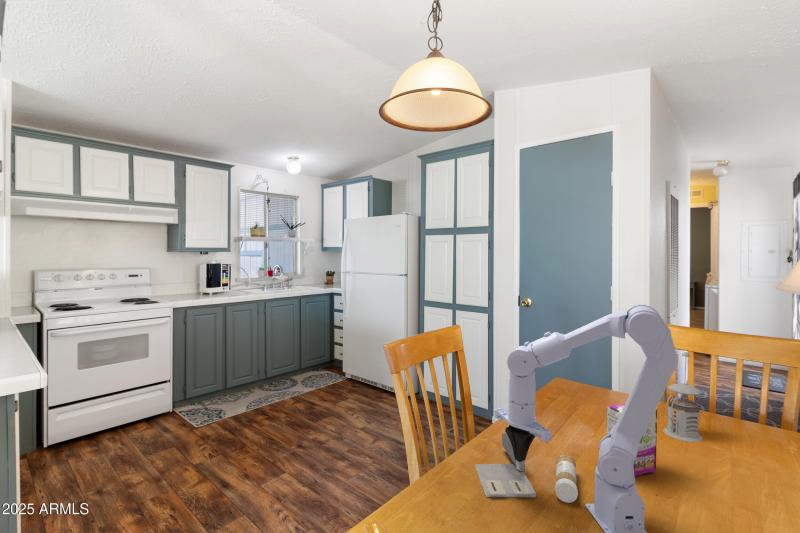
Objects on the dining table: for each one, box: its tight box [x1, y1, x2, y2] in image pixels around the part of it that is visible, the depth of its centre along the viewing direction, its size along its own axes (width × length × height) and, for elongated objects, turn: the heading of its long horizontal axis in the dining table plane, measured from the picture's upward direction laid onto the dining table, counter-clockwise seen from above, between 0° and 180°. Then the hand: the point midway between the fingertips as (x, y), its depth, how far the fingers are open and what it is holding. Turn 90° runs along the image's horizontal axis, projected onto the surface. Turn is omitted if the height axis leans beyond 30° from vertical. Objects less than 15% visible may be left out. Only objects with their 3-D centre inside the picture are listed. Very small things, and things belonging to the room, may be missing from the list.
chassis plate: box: [475, 463, 537, 498], centre depth 95 cm, size 12×11×1 cm
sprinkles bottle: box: [554, 454, 579, 504], centre depth 94 cm, size 5×5×14 cm
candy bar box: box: [606, 403, 658, 477], centre depth 100 cm, size 11×5×16 cm, turn 105°
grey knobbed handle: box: [501, 432, 526, 471], centre depth 104 cm, size 2×12×5 cm, turn 4°
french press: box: [662, 351, 704, 443], centre depth 120 cm, size 10×12×25 cm
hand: (520, 459), depth 91 cm, fingers closed
